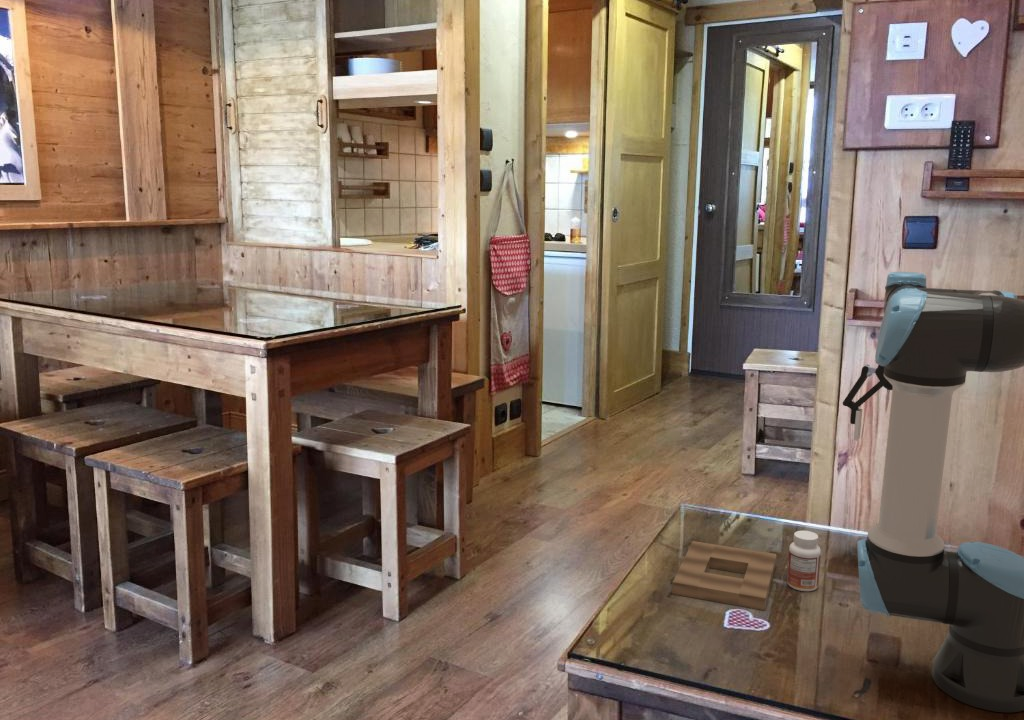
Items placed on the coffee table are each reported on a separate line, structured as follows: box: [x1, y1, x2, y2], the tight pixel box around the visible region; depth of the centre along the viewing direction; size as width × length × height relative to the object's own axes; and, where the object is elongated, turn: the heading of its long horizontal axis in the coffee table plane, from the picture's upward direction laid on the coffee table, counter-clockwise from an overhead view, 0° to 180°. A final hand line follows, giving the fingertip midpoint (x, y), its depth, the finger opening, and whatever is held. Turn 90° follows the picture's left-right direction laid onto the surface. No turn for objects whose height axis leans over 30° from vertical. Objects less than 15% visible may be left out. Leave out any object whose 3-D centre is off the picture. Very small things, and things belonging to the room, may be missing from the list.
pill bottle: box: [786, 530, 822, 592], centre depth 178 cm, size 6×6×11 cm
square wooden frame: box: [671, 540, 777, 611], centre depth 182 cm, size 22×18×2 cm
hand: (890, 444), depth 186 cm, fingers open, 13 cm apart
